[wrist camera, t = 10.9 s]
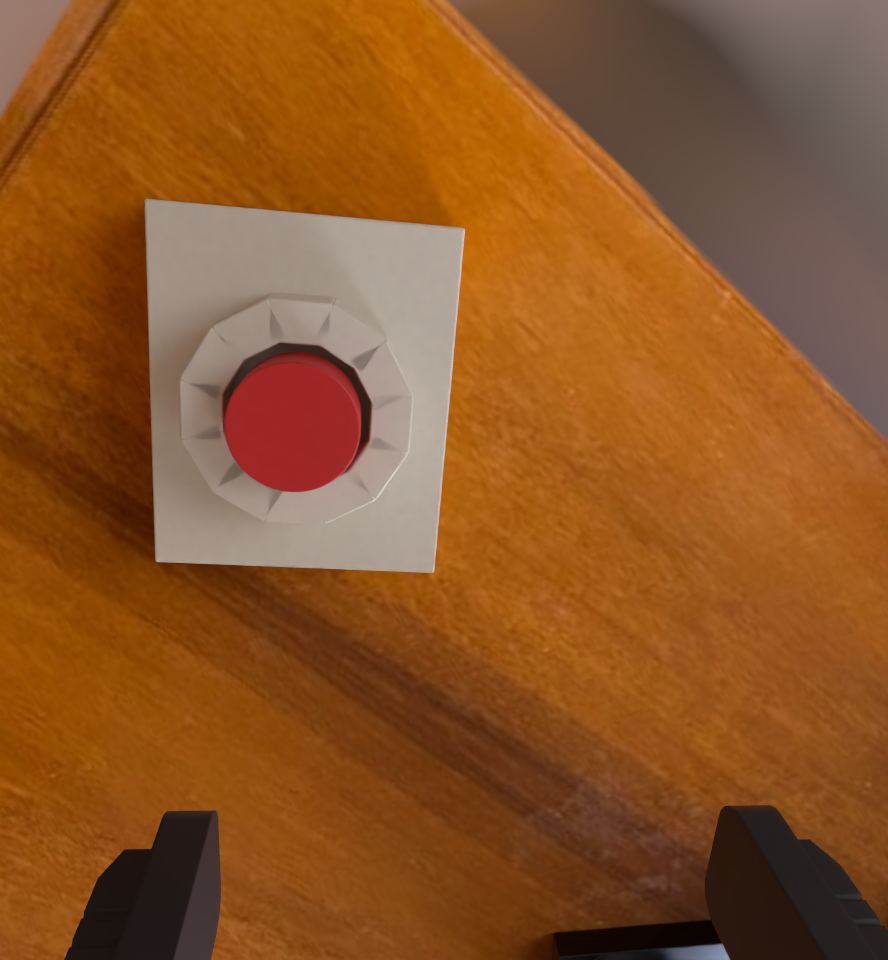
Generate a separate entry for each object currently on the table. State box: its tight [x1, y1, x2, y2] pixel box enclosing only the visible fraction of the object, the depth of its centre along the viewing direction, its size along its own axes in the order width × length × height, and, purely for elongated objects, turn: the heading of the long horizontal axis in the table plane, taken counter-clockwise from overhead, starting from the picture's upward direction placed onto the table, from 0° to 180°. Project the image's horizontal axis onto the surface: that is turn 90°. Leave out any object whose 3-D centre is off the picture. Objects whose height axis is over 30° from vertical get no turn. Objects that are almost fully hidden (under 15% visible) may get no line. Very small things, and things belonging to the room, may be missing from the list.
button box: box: [144, 199, 465, 573], centre depth 24 cm, size 11×9×4 cm
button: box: [224, 352, 361, 492], centre depth 21 cm, size 4×4×2 cm
